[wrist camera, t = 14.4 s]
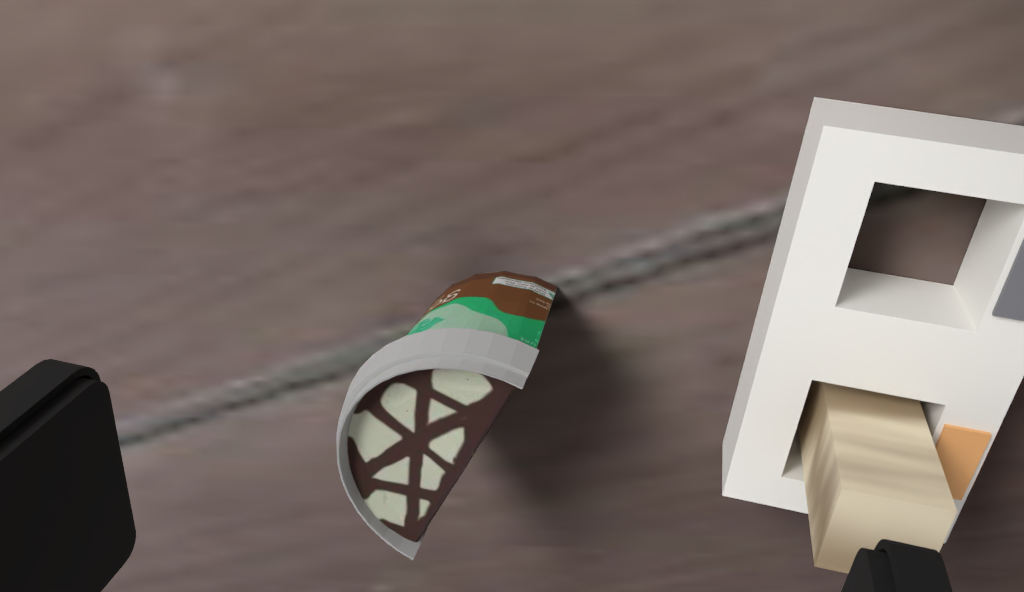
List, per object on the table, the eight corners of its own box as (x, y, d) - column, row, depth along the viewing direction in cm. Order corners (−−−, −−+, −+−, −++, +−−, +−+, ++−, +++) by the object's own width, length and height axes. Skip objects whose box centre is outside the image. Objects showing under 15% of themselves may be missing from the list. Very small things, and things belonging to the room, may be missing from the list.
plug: (816, 347, 39) (841, 488, 31) (906, 362, 39) (957, 511, 30) (796, 415, 41) (814, 566, 33) (881, 431, 40) (922, 589, 32)
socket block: (814, 96, 34) (824, 127, 30) (1090, 135, 32) (1135, 172, 29) (722, 443, 43) (722, 498, 39) (935, 486, 41) (956, 548, 38)
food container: (458, 200, 40) (385, 299, 31) (571, 263, 40) (529, 378, 31) (369, 379, 46) (287, 502, 38) (467, 432, 46) (408, 567, 38)
